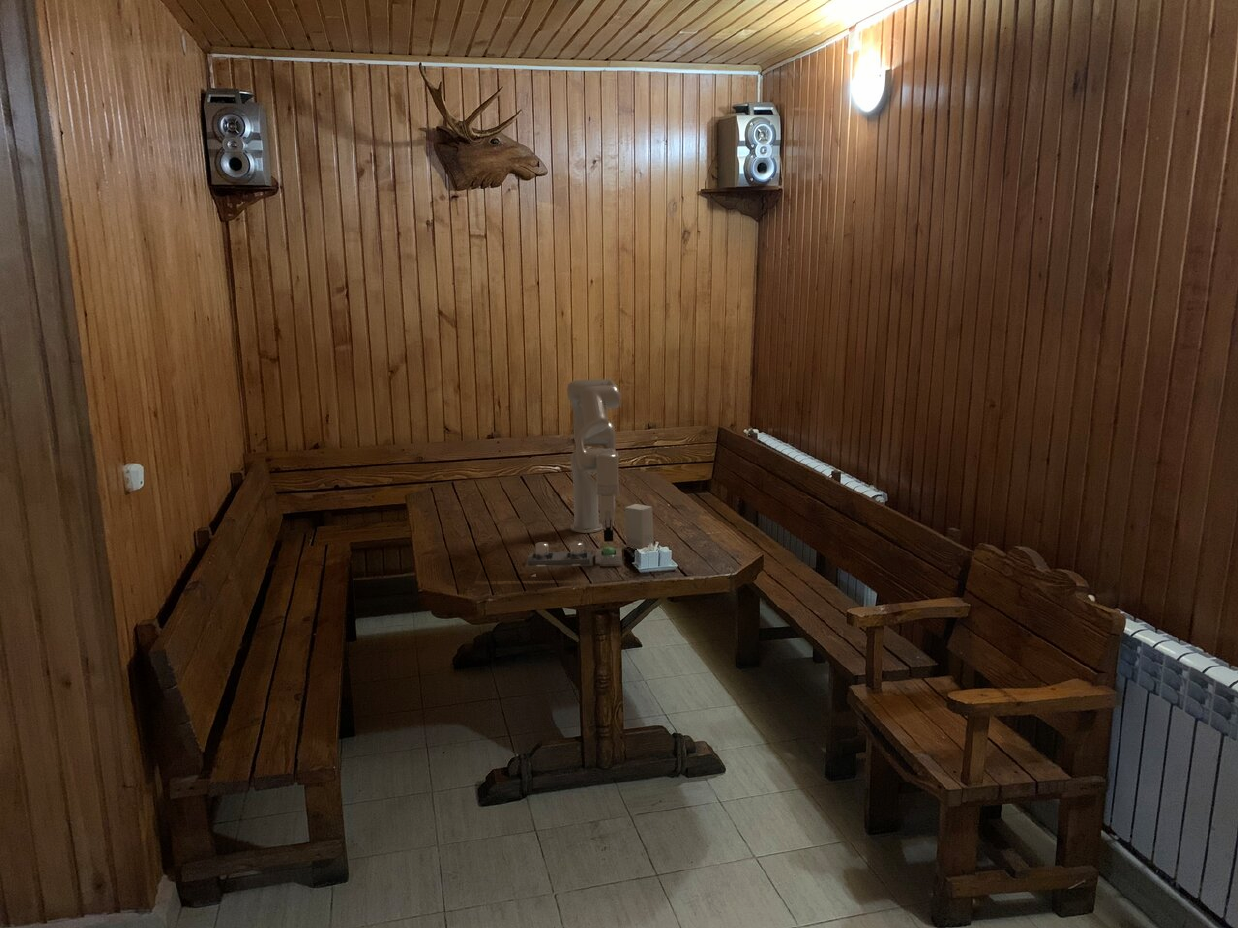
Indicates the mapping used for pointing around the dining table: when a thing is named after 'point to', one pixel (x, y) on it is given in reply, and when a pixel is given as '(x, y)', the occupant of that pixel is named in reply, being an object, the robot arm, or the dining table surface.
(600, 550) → the button housing
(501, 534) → the dining table surface
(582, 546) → the billet
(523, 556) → the dining table surface
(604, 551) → the button
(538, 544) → the billet
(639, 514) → the skincare box
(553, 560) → the pallet
